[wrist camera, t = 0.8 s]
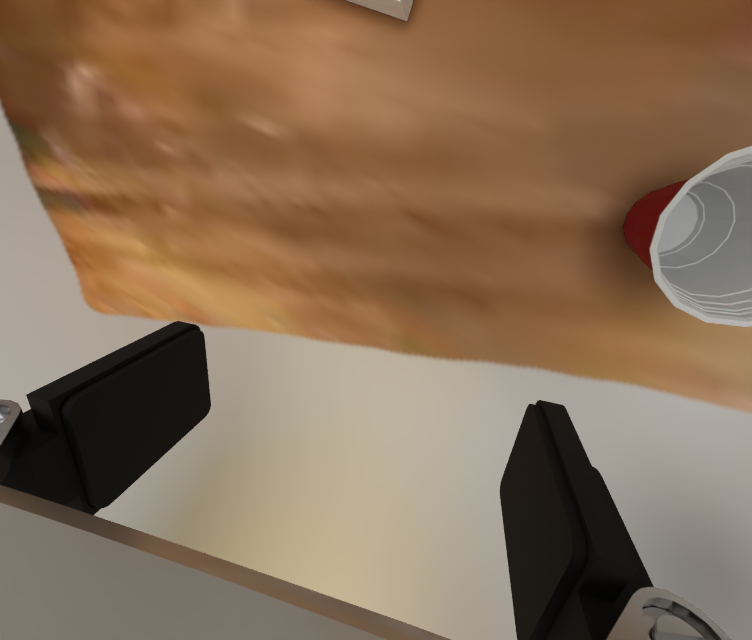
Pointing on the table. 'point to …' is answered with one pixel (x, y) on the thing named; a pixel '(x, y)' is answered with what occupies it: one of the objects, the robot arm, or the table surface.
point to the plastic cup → (701, 240)
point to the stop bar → (388, 7)
